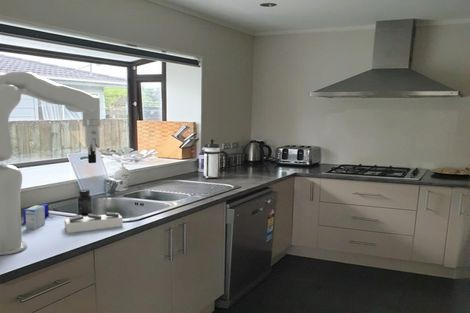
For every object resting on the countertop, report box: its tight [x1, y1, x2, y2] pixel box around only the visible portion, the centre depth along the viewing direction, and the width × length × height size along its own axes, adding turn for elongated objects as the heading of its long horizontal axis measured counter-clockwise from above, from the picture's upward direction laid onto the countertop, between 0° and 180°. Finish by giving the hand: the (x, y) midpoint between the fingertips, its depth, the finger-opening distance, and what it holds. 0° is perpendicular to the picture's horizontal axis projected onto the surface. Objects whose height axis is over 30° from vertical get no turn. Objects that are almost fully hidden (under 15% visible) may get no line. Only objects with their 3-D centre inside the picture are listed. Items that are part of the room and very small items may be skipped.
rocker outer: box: [104, 211, 120, 217], centre depth 176 cm, size 5×3×1 cm, turn 120°
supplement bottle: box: [76, 188, 93, 217], centre depth 193 cm, size 7×7×12 cm
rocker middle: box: [87, 213, 101, 219], centre depth 172 cm, size 5×3×1 cm, turn 120°
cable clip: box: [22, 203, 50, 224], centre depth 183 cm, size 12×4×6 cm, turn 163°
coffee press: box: [201, 139, 229, 180], centre depth 301 cm, size 17×16×30 cm
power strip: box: [64, 214, 123, 234], centre depth 174 cm, size 23×8×4 cm, turn 120°
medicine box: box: [25, 204, 46, 230], centre depth 172 cm, size 8×4×9 cm, turn 178°
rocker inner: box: [68, 215, 84, 222], centre depth 168 cm, size 5×3×1 cm, turn 120°
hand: (92, 162), depth 181 cm, fingers closed
